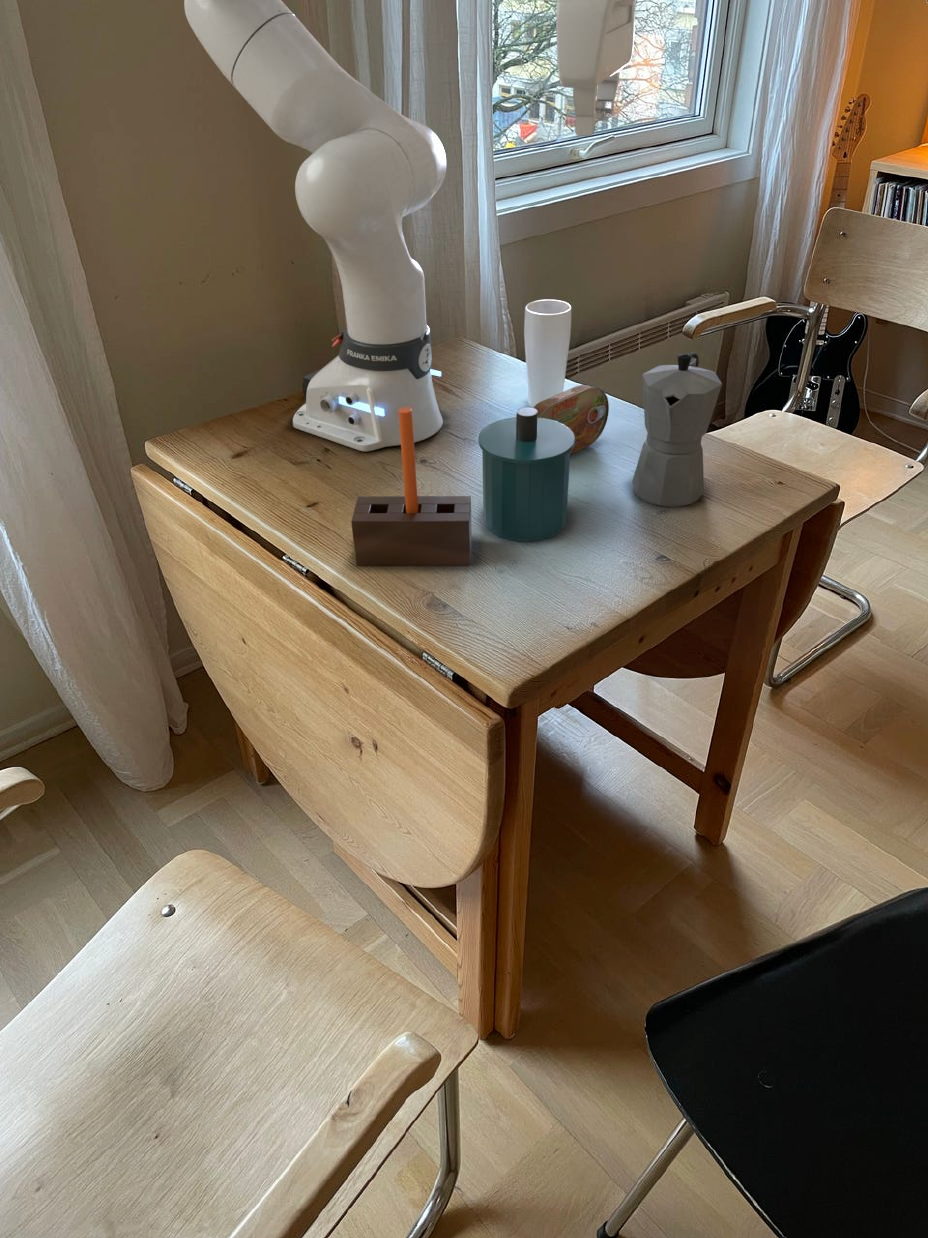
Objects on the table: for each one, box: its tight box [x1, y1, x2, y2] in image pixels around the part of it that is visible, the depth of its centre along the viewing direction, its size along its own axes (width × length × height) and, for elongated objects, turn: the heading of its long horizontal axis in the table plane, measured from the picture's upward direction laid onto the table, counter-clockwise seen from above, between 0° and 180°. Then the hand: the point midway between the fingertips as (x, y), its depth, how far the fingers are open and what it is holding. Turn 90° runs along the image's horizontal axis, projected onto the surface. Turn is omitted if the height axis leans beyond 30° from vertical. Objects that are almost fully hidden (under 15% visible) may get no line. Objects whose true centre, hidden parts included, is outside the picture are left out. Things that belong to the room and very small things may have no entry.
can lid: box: [477, 406, 575, 464], centre depth 103 cm, size 11×11×4 cm
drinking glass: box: [523, 299, 572, 408], centre depth 132 cm, size 7×7×15 cm
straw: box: [399, 407, 419, 513], centre depth 99 cm, size 1×1×18 cm
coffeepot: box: [631, 352, 723, 508], centre depth 110 cm, size 15×9×18 cm, turn 159°
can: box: [481, 449, 571, 542], centre depth 107 cm, size 10×10×11 cm
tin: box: [533, 384, 610, 456], centre depth 122 cm, size 15×3×8 cm, turn 131°
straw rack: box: [351, 495, 473, 567], centre depth 103 cm, size 6×13×6 cm, turn 88°
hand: (594, 126), depth 93 cm, fingers open, 8 cm apart
